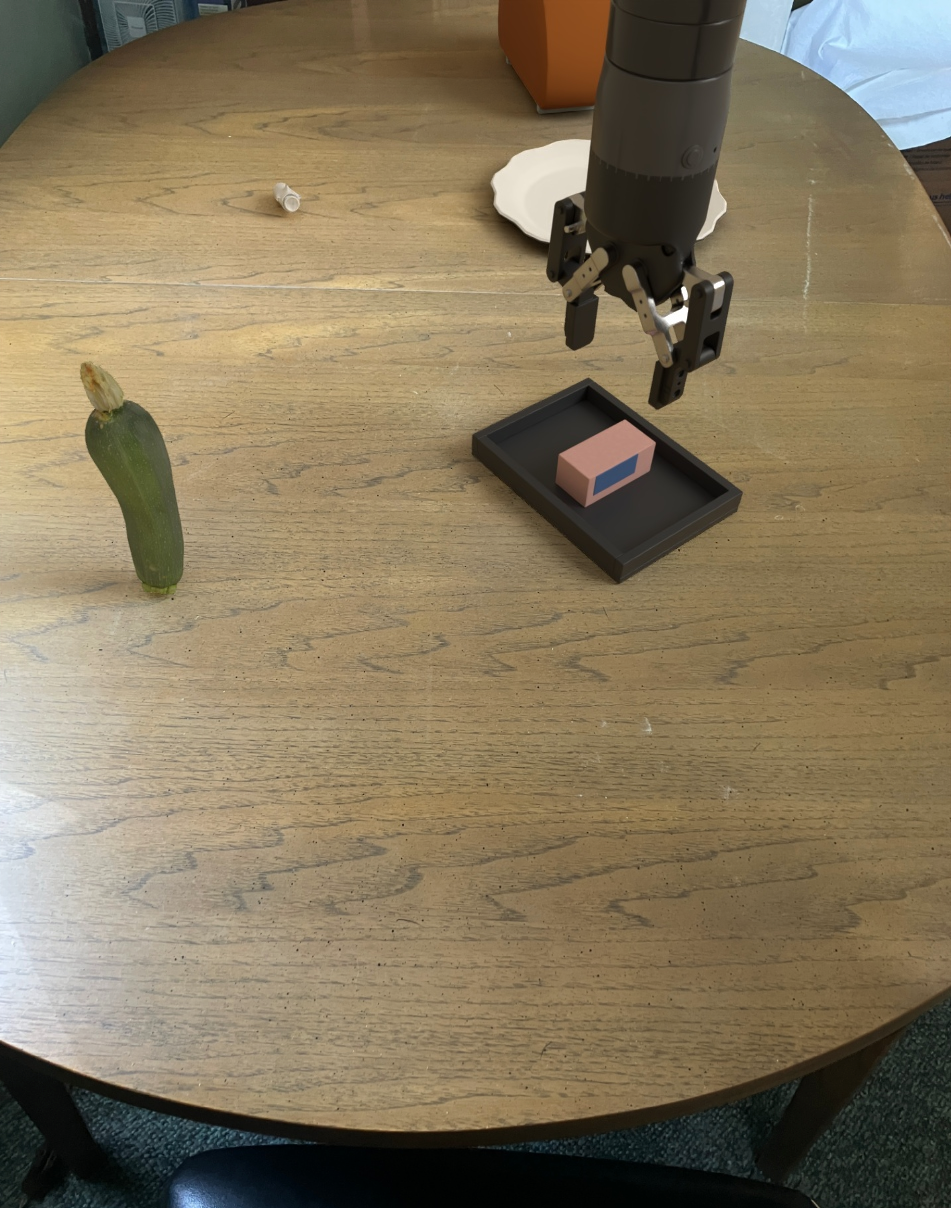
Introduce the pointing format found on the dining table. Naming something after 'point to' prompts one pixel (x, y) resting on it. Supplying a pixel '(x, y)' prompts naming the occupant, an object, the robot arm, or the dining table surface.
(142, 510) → the vegetable
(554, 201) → the plate
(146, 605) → the dining table surface
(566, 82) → the alarm clock
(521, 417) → the tray
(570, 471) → the eraser
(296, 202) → the small white plastic part
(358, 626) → the dining table surface
